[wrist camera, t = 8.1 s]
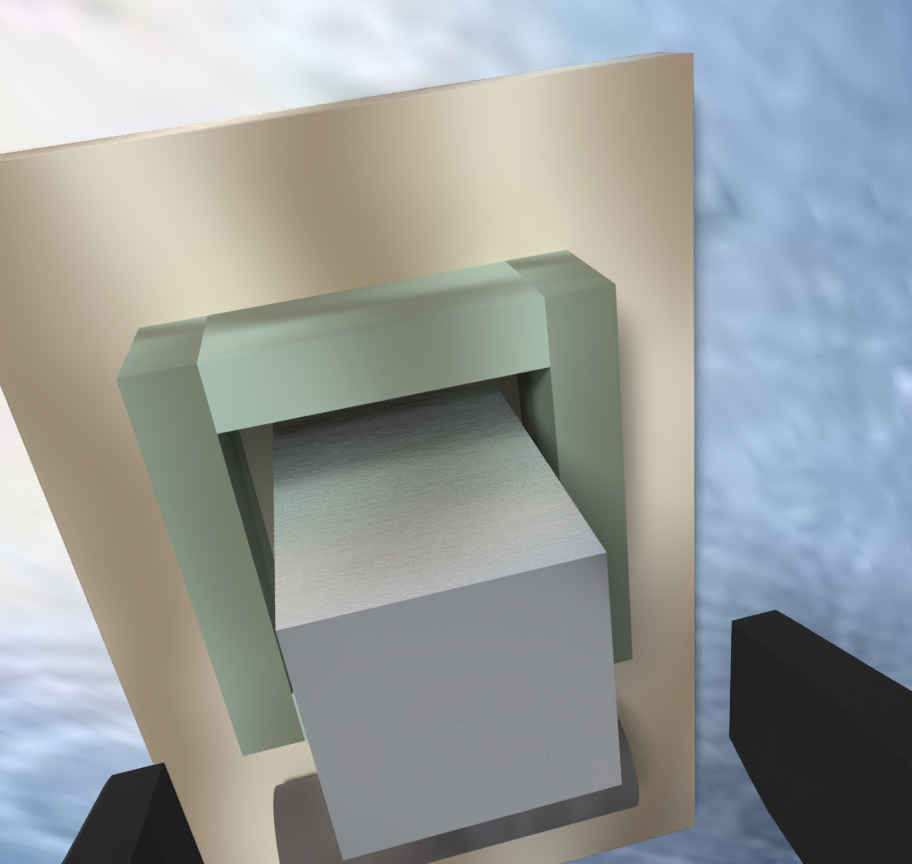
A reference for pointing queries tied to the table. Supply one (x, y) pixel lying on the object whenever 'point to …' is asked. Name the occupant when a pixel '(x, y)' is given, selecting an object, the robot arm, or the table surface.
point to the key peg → (439, 617)
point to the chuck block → (361, 398)
